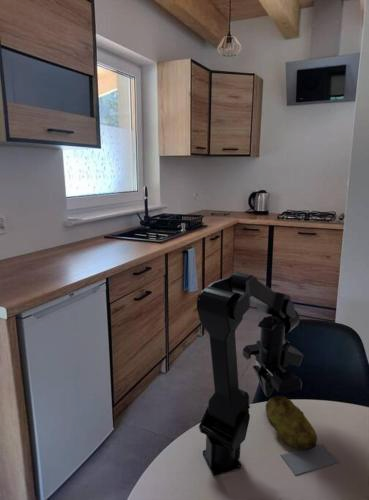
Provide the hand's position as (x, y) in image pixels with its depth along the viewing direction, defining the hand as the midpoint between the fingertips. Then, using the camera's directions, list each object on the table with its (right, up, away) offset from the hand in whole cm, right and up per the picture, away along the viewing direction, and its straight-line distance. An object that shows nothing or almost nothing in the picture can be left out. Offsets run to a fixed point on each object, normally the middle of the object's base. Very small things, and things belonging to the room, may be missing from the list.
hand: (267, 395), depth 91 cm
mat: (+6, -8, -14) cm, 17 cm away
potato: (+3, -6, -8) cm, 11 cm away
